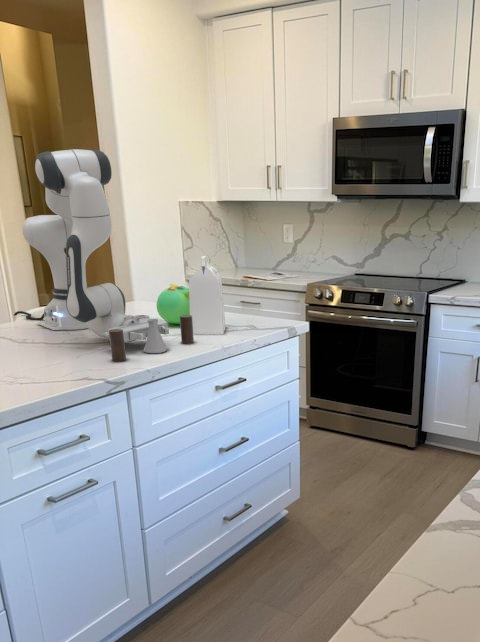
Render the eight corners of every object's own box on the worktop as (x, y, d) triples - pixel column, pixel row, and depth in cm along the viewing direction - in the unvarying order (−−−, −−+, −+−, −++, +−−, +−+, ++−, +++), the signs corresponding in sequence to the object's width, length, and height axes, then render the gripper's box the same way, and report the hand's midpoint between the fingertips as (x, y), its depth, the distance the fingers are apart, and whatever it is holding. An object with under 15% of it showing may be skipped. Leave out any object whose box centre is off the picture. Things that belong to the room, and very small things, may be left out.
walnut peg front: (109, 360, 181) (105, 330, 178) (120, 357, 184) (116, 328, 181) (118, 362, 179) (114, 332, 176) (129, 359, 182) (125, 330, 179)
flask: (139, 353, 190) (136, 321, 186) (150, 347, 196) (147, 316, 193) (161, 354, 188) (158, 322, 185) (171, 349, 195) (168, 318, 191)
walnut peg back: (179, 343, 203) (177, 316, 199) (187, 340, 206) (186, 314, 202) (187, 344, 201) (185, 317, 197) (196, 342, 204) (194, 315, 200)
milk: (194, 327, 226) (189, 255, 217) (225, 327, 227) (221, 255, 218) (190, 334, 215) (184, 258, 206) (223, 334, 216) (219, 258, 206)
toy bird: (168, 318, 242) (165, 280, 236) (209, 319, 240) (207, 281, 234) (151, 327, 225) (147, 287, 220) (195, 329, 223) (192, 288, 218)
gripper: (98, 324, 188) (127, 329, 181) (149, 314, 204) (178, 319, 197) (100, 344, 190) (130, 350, 183) (151, 332, 206) (180, 338, 199)
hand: (155, 334), depth 190 cm, fingers open, 8 cm apart
